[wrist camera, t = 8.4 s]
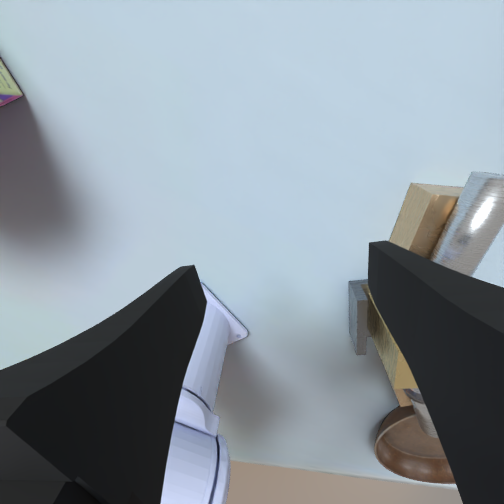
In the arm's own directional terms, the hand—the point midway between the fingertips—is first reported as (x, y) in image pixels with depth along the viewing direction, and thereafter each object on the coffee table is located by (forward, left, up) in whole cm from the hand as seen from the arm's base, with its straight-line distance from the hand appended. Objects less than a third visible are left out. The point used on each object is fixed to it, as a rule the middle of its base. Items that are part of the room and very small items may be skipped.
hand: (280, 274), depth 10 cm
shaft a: (+9, -8, -10) cm, 15 cm away
